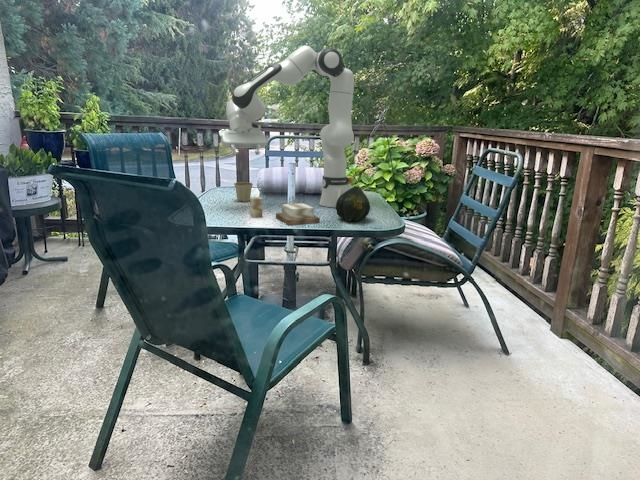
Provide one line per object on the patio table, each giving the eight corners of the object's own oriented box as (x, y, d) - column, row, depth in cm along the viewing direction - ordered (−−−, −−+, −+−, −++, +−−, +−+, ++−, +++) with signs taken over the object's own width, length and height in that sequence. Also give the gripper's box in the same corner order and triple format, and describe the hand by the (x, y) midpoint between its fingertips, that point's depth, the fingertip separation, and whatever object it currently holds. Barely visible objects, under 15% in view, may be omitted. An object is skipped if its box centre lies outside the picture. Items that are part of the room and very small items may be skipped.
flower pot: (257, 200, 227) (257, 183, 225) (244, 203, 220) (244, 185, 217) (243, 198, 232) (242, 181, 230) (230, 200, 224) (229, 183, 222)
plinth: (305, 215, 197) (306, 202, 196) (319, 222, 185) (320, 208, 184) (275, 217, 191) (275, 203, 190) (288, 225, 179) (288, 210, 178)
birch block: (259, 215, 195) (259, 197, 193) (262, 217, 192) (262, 198, 190) (250, 215, 194) (250, 197, 191) (253, 217, 190) (253, 199, 188)
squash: (330, 210, 184) (356, 183, 182) (328, 204, 198) (352, 179, 196) (355, 233, 186) (380, 207, 184) (351, 226, 201) (375, 201, 199)
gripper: (218, 124, 195) (225, 149, 190) (263, 125, 204) (270, 149, 198) (216, 134, 200) (222, 158, 195) (260, 135, 209) (267, 158, 203)
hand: (247, 153), depth 196 cm, fingers open, 8 cm apart
